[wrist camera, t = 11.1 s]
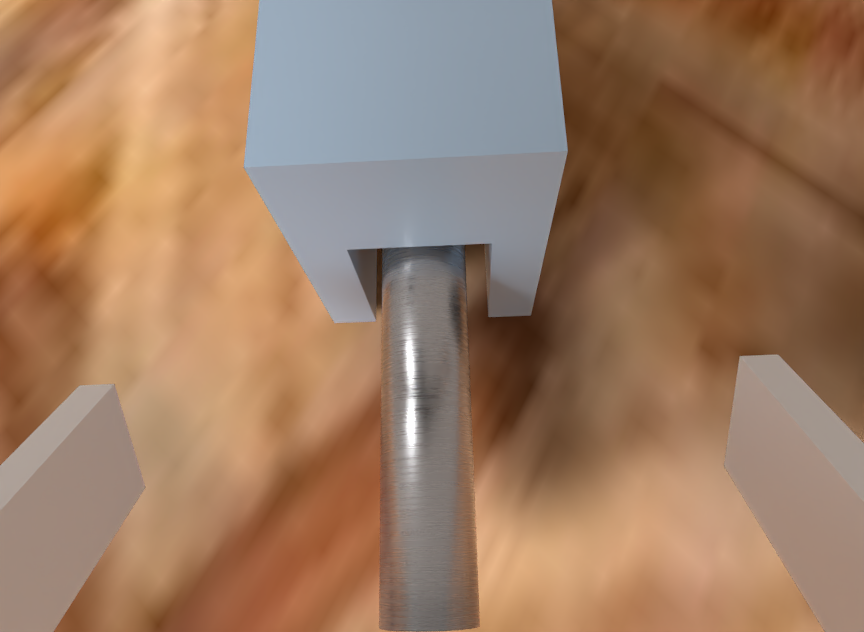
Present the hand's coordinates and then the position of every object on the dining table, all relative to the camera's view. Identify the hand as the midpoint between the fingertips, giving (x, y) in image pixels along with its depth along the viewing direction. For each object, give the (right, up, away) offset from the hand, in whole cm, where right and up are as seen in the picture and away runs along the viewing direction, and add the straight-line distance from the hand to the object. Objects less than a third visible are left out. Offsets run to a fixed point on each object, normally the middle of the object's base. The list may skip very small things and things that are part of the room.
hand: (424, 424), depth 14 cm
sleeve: (0, +5, +10) cm, 12 cm away
